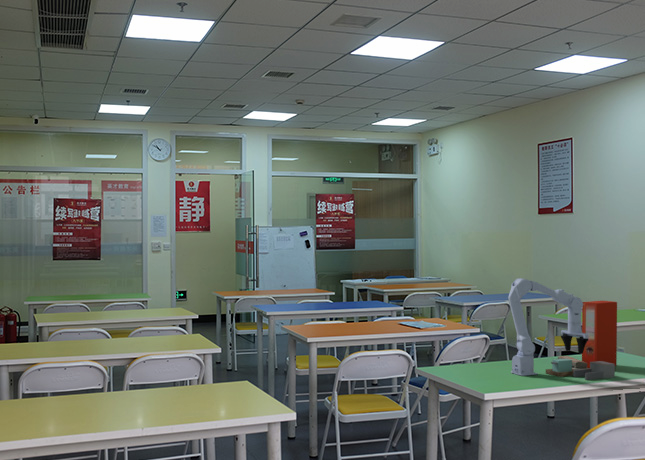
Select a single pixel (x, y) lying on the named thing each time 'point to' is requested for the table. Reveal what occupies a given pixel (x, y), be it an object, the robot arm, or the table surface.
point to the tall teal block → (561, 365)
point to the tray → (559, 373)
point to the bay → (596, 371)
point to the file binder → (600, 331)
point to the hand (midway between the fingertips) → (574, 352)
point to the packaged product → (575, 363)
